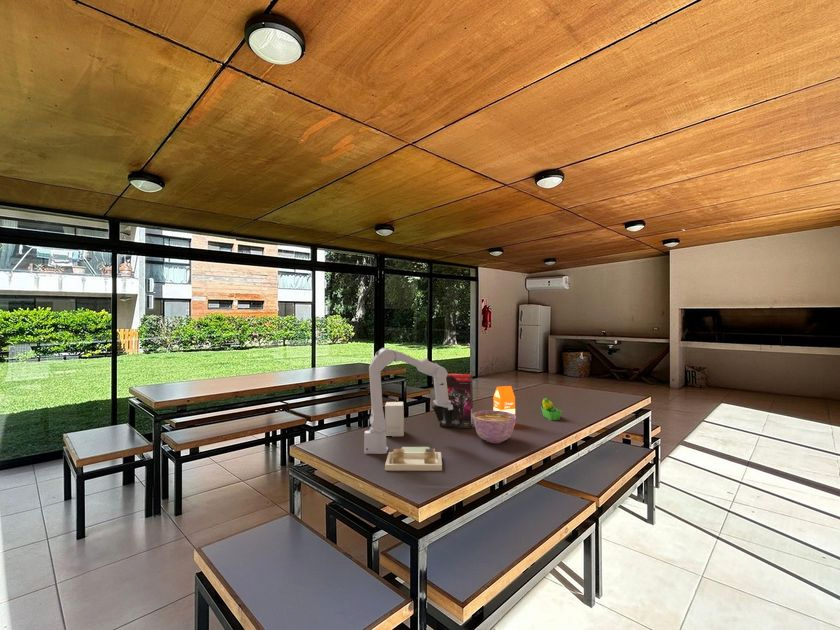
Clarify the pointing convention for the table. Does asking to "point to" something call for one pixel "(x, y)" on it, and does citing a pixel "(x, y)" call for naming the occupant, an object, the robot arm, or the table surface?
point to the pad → (414, 449)
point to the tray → (413, 462)
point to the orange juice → (504, 399)
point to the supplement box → (394, 418)
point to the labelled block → (429, 456)
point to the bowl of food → (494, 425)
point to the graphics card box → (460, 400)
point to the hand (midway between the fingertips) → (444, 422)
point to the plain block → (398, 456)
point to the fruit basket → (550, 410)
